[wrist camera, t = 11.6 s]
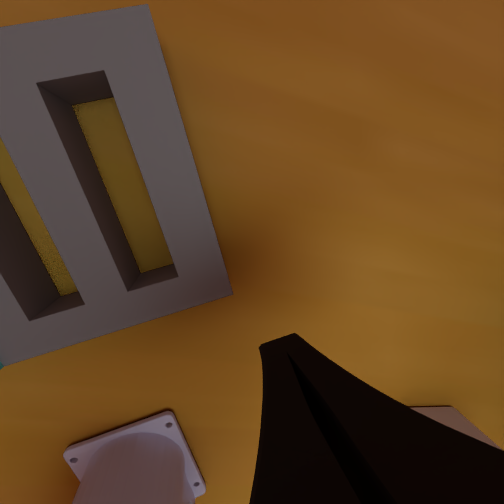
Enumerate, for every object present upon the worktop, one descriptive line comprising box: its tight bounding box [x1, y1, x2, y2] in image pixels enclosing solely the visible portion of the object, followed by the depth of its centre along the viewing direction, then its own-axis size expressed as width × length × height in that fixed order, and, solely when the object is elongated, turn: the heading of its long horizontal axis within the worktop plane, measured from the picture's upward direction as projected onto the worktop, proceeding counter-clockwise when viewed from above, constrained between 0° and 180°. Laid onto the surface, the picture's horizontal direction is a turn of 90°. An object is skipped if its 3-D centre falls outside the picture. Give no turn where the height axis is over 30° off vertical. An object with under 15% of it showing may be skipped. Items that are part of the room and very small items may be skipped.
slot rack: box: [0, 4, 233, 369], centre depth 13 cm, size 14×18×3 cm
